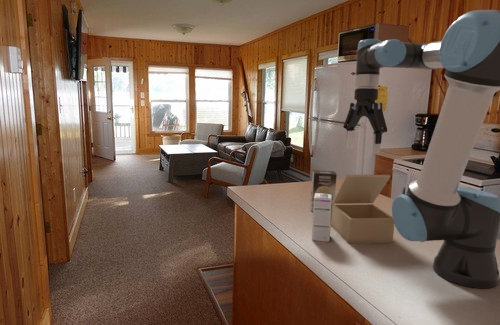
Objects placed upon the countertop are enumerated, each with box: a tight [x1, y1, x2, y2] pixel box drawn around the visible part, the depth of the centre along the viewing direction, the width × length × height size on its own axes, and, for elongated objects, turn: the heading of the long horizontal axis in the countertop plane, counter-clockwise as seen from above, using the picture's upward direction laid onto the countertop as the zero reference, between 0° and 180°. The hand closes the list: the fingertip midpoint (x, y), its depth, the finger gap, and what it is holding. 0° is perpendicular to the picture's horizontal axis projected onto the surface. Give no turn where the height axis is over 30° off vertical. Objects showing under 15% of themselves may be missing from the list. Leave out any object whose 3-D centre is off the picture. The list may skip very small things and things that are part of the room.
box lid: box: [332, 174, 391, 204], centre depth 124 cm, size 16×15×1 cm
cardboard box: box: [331, 203, 395, 244], centre depth 123 cm, size 16×15×8 cm
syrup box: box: [311, 193, 332, 243], centre depth 117 cm, size 6×6×14 cm
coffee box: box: [309, 169, 338, 214], centre depth 147 cm, size 9×6×16 cm
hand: (362, 151), depth 124 cm, fingers open, 13 cm apart
